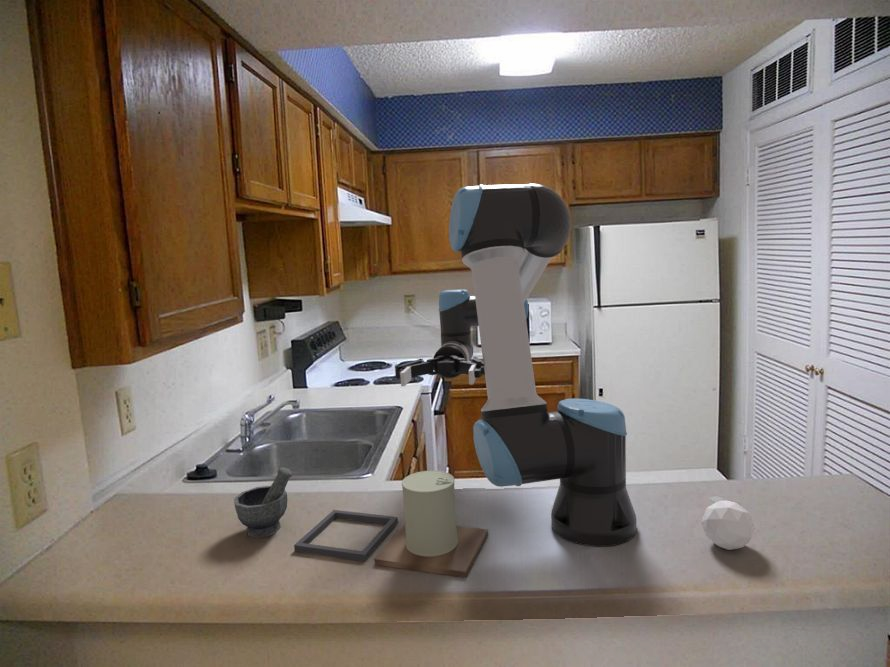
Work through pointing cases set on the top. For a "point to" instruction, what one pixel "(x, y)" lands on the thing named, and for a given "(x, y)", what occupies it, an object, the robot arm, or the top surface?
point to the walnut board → (446, 564)
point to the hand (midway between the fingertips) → (436, 378)
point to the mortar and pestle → (263, 506)
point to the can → (430, 513)
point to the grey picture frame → (340, 552)
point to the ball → (728, 525)
